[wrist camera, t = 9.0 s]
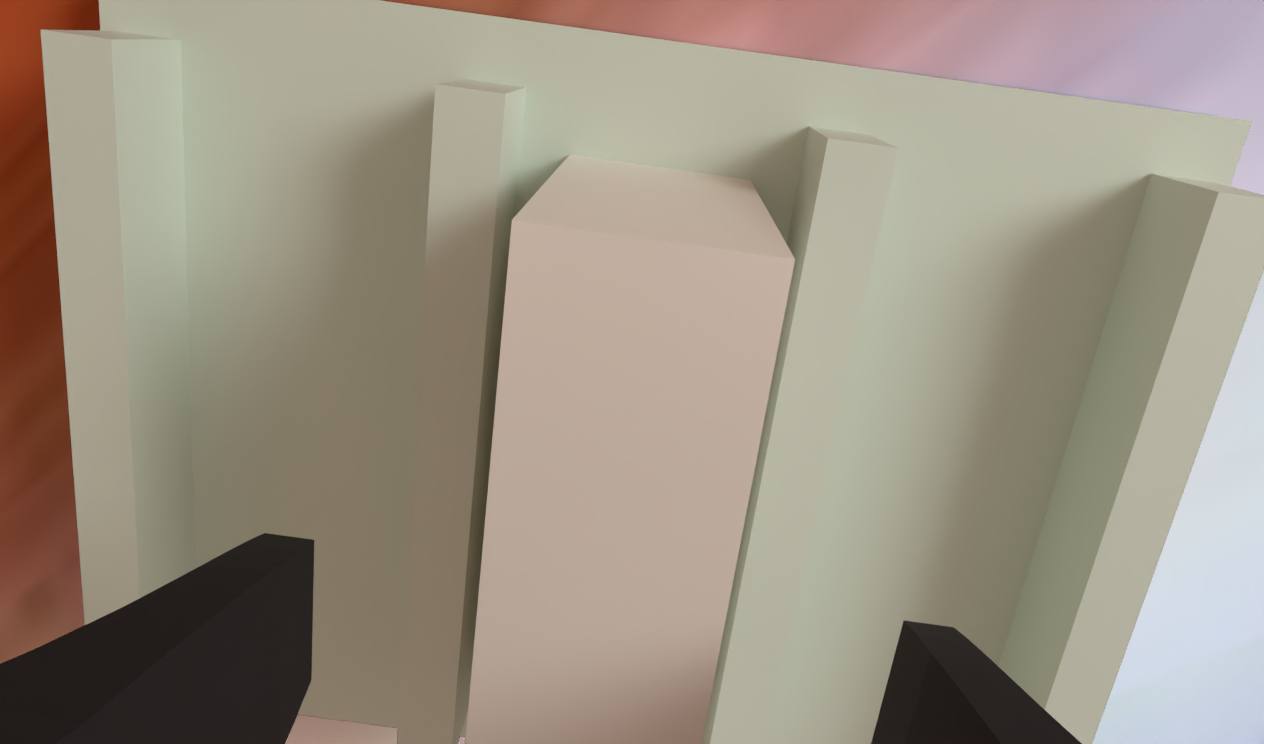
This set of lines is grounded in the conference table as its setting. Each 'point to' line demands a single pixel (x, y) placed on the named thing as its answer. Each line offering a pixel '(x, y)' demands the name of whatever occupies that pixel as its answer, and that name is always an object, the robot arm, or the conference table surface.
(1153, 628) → the conference table surface
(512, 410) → the beige rectangular block
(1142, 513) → the rack
